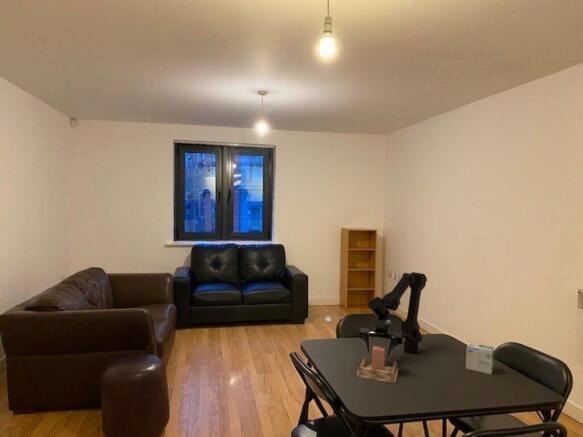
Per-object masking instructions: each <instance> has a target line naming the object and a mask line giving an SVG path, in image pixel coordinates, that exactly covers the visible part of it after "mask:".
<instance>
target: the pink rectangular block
mask: <svg viewBox="0 0 583 437" xmlns="http://www.w3.org/2000/svg"><path fill="white" fill-rule="evenodd" d="M371 356H372V357H371V364H372V369H376V370H382V371H384V370H385V366H386V364H385V363H386V347H382V346H376V345H373V346H372V352H371Z"/></svg>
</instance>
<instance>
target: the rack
mask: <svg viewBox="0 0 583 437" xmlns="http://www.w3.org/2000/svg"><path fill="white" fill-rule="evenodd" d="M398 373H399V368H398V367H397V361H396V360H393V363H392V366H388V365H387V366H386V365H385V370H384V371H382V370H376V369H372V363H368V356H366V355H364V357H363V359H362V361H361V363H360V365H359V367H358V371H357V373H356V377H357V378H364V379H368V380H369V379H370V380H374V381H380V382H385V383H392V384H396V382H397V378H398Z"/></svg>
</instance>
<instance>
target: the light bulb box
mask: <svg viewBox="0 0 583 437" xmlns="http://www.w3.org/2000/svg"><path fill="white" fill-rule="evenodd" d="M494 348H495V347H494V346H492V345H487V344H486V345H485V344H480V343H476V342H475V343H474V342H468V343H467V345H466V352H465V353H466V356H465V357H466V359H465V369H466V370H470V371H475V372H478V373H484V374H487V375H492V372H493V370H494V352H495V351H494V350H495V349H494Z"/></svg>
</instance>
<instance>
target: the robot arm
mask: <svg viewBox="0 0 583 437" xmlns="http://www.w3.org/2000/svg"><path fill="white" fill-rule="evenodd" d="M427 281H428V278H427V276H426V274H425V273H420V272H417V271H416V272H414V271H412V272H410V273H409V272H404V273H403V274H402V276H401V278H400V279H399V281H398V282H397V283H396V285H395V286H394V287H393V288H392V290H391V291H389V292H388V293H385V295H383V297H382V298H381V297H380V296H375V298H372V299H371V300H370V301H369V302H368V303H367V306H368V307H367V308H368V309H370V311H371V313H373V314H374V316H376V319H375V320H374V327H373V331H370V330H369V328H368V327H363V326H362V327H360V328H359V330H358V334H359V339H362V340H363V342H364V341H365V344H366V348H367V349H366V350H367V353H368V354H369V353H370V348H371V347H370V346H371V344H370V343H371V338H370V337H373V338H374V337H375V338H379V339H387V340H390V342H389V347H388V351H387V352H388V353H387V357H389V356H390V355H391V354H392V351H393V350H394V349H395V348H396V346H399V345H403V351H404V353H406V354H412V355H419V350H420V349H419V343H421V342H422V341H423V339H424V338H423V334H422V333H421V332H420V328H421V327H420V324H419V322H418V316H419V308H420V302H421V294H422V293H421V292H422V291H423V290H424V289H425V287H426V283H427ZM408 288H410V294H409V301H408V307H407V314H406V315H407V316H406V318H405V320H404V321H402V322H401V327H400V332H397V331H393V332H392V334H390V333H389V329H391V328H392V320H390V318H392V314H391V312H390V311H393V312H396V311H397V310H398V308H399V307H400V305H401V298H402V297H403V295H404V294H405V293H406V291H407V290H408ZM404 339H405V340H404Z"/></svg>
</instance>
